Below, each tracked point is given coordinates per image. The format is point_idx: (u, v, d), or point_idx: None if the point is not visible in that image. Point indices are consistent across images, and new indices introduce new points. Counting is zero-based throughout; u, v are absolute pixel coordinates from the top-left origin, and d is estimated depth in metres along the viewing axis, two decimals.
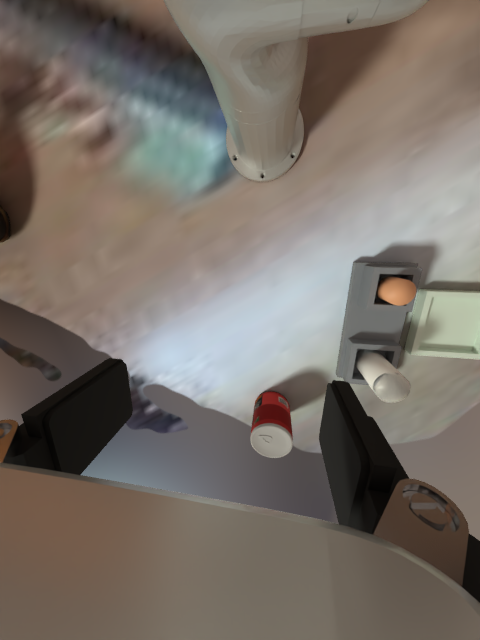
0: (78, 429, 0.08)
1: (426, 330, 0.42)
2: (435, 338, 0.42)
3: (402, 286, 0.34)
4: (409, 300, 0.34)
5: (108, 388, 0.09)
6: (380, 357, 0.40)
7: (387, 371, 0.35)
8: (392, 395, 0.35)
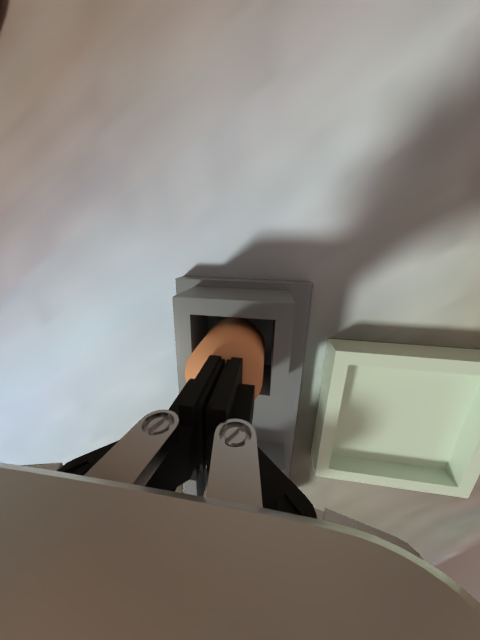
0: None
1: (348, 425, 0.19)
2: (367, 441, 0.20)
3: None
4: None
5: None
6: None
7: None
8: None
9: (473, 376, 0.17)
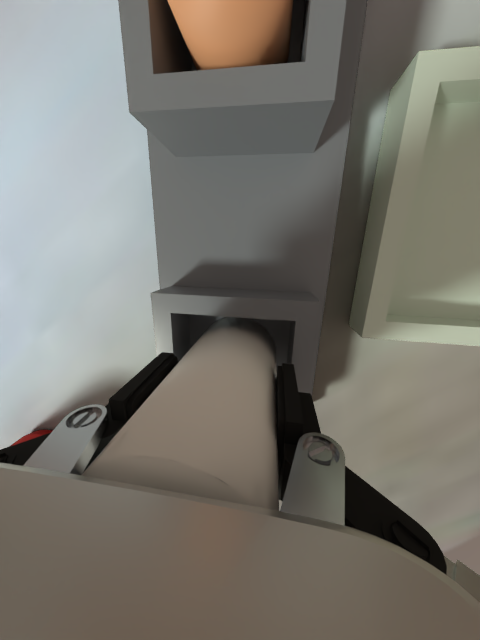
0: None
1: (416, 254, 0.12)
2: (446, 283, 0.12)
3: None
4: None
5: None
6: (230, 342, 0.10)
7: (157, 415, 0.06)
8: None
9: None
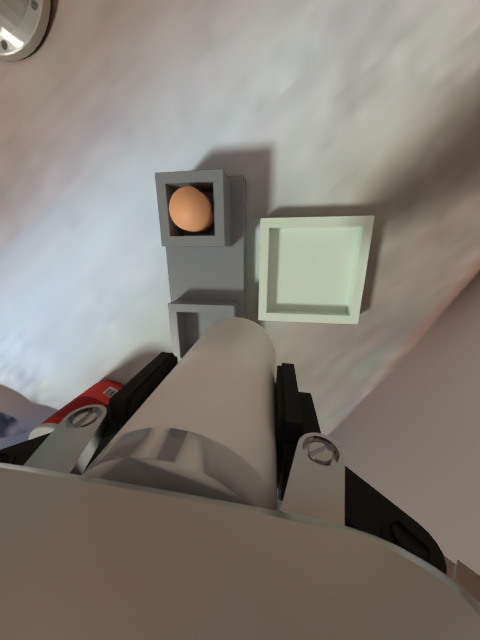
0: None
1: (279, 284, 0.28)
2: (293, 295, 0.29)
3: (186, 198, 0.22)
4: (201, 221, 0.23)
5: None
6: (229, 343, 0.10)
7: (155, 417, 0.06)
8: None
9: (351, 235, 0.26)
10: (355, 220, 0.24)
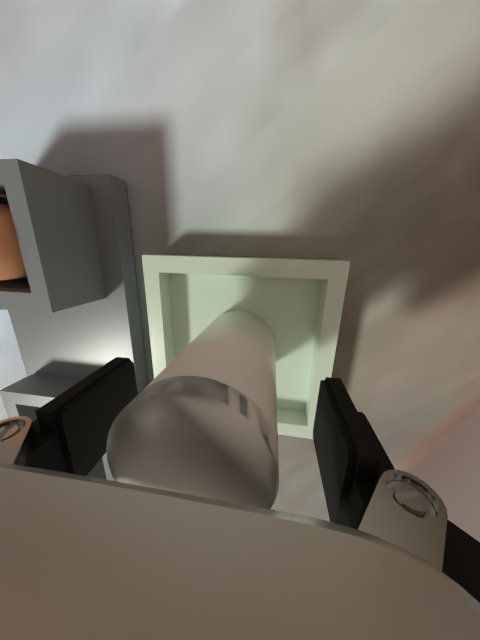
0: (89, 426, 0.08)
1: None
2: None
3: None
4: None
5: (117, 386, 0.09)
6: (234, 327, 0.11)
7: (178, 370, 0.07)
8: None
9: (311, 289, 0.14)
10: (313, 268, 0.12)
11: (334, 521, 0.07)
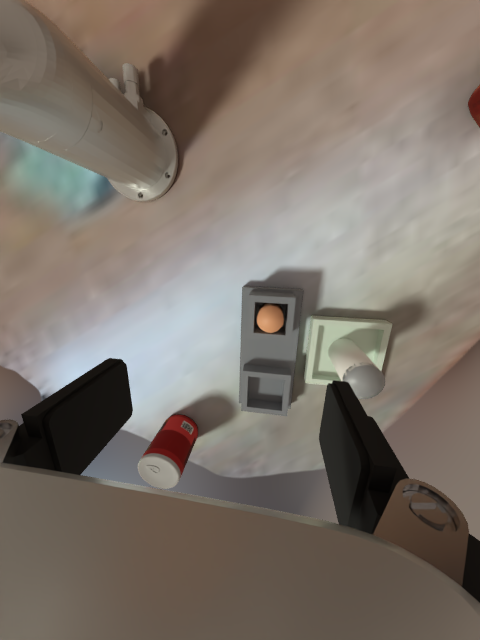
0: (78, 429, 0.08)
1: (321, 358, 0.40)
2: (331, 366, 0.40)
3: (270, 314, 0.34)
4: (278, 327, 0.34)
5: (108, 388, 0.09)
6: (354, 347, 0.34)
7: (358, 361, 0.30)
8: (365, 390, 0.30)
9: (375, 331, 0.37)
10: (379, 326, 0.35)
11: None
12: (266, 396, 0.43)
